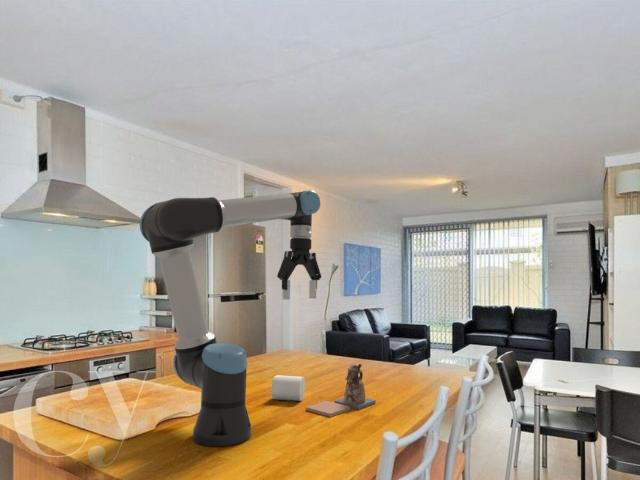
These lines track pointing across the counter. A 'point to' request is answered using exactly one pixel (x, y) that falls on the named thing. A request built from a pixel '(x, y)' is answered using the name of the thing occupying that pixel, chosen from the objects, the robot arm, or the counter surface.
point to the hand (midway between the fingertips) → (299, 299)
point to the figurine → (354, 385)
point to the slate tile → (357, 405)
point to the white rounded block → (288, 388)
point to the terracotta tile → (327, 408)
